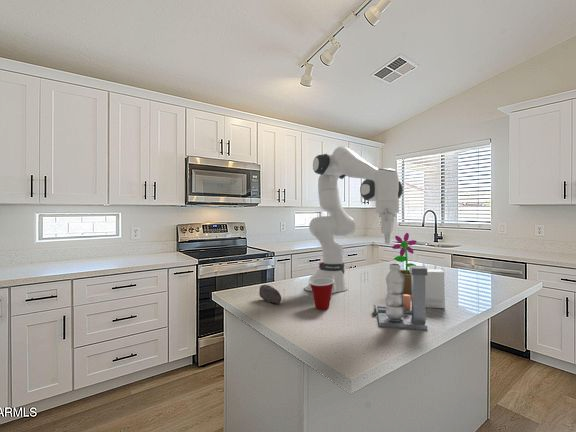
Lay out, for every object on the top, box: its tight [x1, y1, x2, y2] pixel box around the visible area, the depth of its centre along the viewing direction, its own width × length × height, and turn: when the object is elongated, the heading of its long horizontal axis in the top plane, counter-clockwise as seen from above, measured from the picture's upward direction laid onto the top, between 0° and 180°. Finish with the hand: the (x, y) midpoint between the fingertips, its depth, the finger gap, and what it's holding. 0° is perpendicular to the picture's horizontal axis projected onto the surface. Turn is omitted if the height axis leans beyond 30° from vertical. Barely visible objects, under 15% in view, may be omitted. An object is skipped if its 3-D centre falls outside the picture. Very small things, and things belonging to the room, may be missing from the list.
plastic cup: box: [308, 278, 334, 311], centre depth 131 cm, size 11×11×12 cm
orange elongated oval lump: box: [403, 294, 412, 311], centre depth 120 cm, size 4×3×7 cm
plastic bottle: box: [385, 263, 405, 319], centre depth 112 cm, size 6×7×20 cm
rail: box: [373, 304, 412, 317], centre depth 121 cm, size 19×5×3 cm, turn 76°
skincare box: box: [425, 268, 446, 309], centre depth 132 cm, size 8×7×16 cm
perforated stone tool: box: [258, 284, 282, 305], centre depth 141 cm, size 15×5×7 cm, turn 35°
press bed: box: [377, 265, 428, 331], centre depth 113 cm, size 17×11×21 cm, turn 76°
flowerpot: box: [391, 232, 417, 296], centre depth 154 cm, size 14×14×30 cm
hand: (387, 243), depth 122 cm, fingers closed
